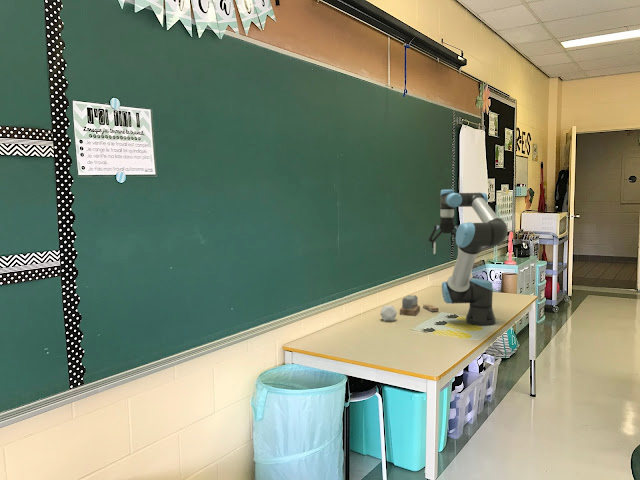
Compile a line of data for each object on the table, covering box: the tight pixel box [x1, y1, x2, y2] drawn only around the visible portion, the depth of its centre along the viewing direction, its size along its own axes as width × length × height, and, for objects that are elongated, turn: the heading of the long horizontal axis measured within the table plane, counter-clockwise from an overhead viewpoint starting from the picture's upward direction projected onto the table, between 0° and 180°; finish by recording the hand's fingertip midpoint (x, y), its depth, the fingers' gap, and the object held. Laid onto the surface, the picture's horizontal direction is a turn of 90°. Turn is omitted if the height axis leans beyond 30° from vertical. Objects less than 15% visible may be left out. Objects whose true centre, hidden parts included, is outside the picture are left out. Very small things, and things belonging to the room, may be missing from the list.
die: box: [380, 304, 398, 322], centre depth 276 cm, size 8×9×10 cm
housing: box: [401, 294, 419, 309], centre depth 292 cm, size 6×10×6 cm, turn 152°
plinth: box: [399, 305, 421, 317], centre depth 293 cm, size 9×13×3 cm
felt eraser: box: [422, 303, 439, 314], centre depth 299 cm, size 12×4×3 cm, turn 14°
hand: (446, 254), depth 286 cm, fingers open, 13 cm apart
